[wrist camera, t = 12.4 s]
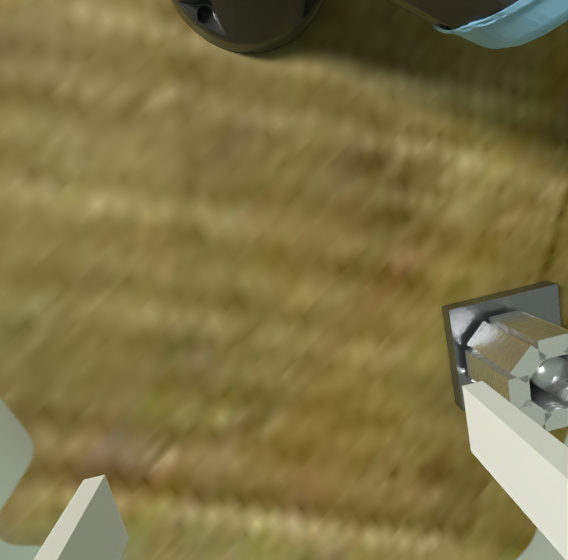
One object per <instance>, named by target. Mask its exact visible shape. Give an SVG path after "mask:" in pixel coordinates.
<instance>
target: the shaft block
mask: <svg viewBox="0 0 568 560" xmlns="http://www.w3.org/2000/svg"><path fill="white" fill-rule="evenodd" d="M442 309H443V316H444V323H445V330H446V337H447V344H448V351H449V358H450V365H451V372H452V379H453V386H454V393H455V400H456V404H457V405H458V406H459V407H460V408H461V409H462V410H463V411H465V403H464V396H463V389H462V386H464V385H468V384H472V383H474V382H473V381H471V380H472V378H470V377H469V376H468V370H467V362H466V354H465V350H468V349H472V348H471V347H470V346H468V345H467V343H468V342H469V340H470V339H471V338H472V336H473V335H474V333H475V332H476V331H477V329H478V328H479V327H480V325H481V324H482V322H483V321H485V322H487V323H489V324H490V320H489V317H492V316H496V315H500V314H504V313H508V312H513V311H519V312H525V313H528V314H530V315H533V316H535V317H538V318H540V319H543V320H545V321H548V322H550V323H553V324H555V325H558V326H560V327H561V320H560V307H559V294H558V284H556V283H552V282H549V281H546V282H542V283H537V284H533V285H529V286H525V287H521V288H517V289H513V290H508V291H504V292H500V293H496V294H492V295H488V296H484V297H479V298H475V299H471V300H467V301H463V302H459V303H455V304H450V305H446V306H442ZM529 381H530V382H532V383H533V384H535V385H537V386H538V387H540V388H541V389H543V390H544V391H547V392H557V391H560V390H562V389H564V388H565V387H566V386H567V385H568V361H567V360H565V359H563V358H561V357H559V356H557V357H553V358H549V359H545V360H544V361H543V362H542V363H541V365H540V366H539V367H538V369H537V370H536V371H535V372H534V374H533V375H532V376H531V378H530V379H529Z"/></svg>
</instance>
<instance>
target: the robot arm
mask: <svg viewBox="0 0 568 560" xmlns="http://www.w3.org/2000/svg"><path fill="white" fill-rule="evenodd" d="M389 1H391V2H393V3H395V4H397V5H399V6H401V7H403V8H405V9H406V10H408V11H410V12H412V13H414V14H416V15H418V16H420V17H421V18H423V19H425V20H427V21H429V22H431V24H432V27H433V28H435V29H436V30H438V31H439V32H442V33H445V34H456V35H458V36H460V37H462V38H465V39H467V40H469V41H471V42H473V43H475V44H478V45H480V46H482V47H485V48H490V49H500V48H504V47H506V48H509V47H516V46H520V45H523V44H525V43H528V42H530V41H533V40H535V39H537V38H539V37H541V36H543V35H545V34H547V33H548V32H550V31H552V30H554V29H555V28H557V27H558V26H560V25H562V24H563V23H565V22H566V21H568V0H389ZM172 2H173V4H174V6H175V8H176V9H177V11H178V12H179V14H180V15H181V17H182V18H183V19H184V20H185V22H186V23H187V24H188V25H189V26H190V27H191V28H192V29H193V30H194V31H195V32H197V33H198V34H199V35H200V36H202V37H203V38H204V39H206V40H207V41H209V42H211V43H213V44H215V45H217V46H219V47H221V48H224V49H227V50H230V51H235V52H241V53H259V52H265V51H269V50H273V49H275V48H278V47H280V46H283V45H284V44H286V43H288V42H290V41H291V40H293V39H294V38H295V37H297V36H298V35H299V34H300V33H301V32H302V31H303V30H304V29H305V28H306V27H307V26H308V25H309V24H310V22H311V21H312V20H313V18H314V17H315V15H316V14H317V12H318V10H319V8H320V6H321V4H322V2H323V0H172ZM462 389H463V396H464V403H465V410H466V417H467V424H468V431H469V439H470V446H471V452H472V453H473V454H474V455H475V456H476V457H477V459H478V460H479V461H480V462H481V463H482V464H483V465H484V467H485V468H486V469H487V470H488V471H489V472H490V474H491V475H492V476H493V477H494V478H495V479H496V480H497V482H498V483H499V484H500V485H501V486H502V487H503V488H504V490H505V491H506V492H507V493H508V494H509V495H510V497H511V498H512V499H513V500H514V501H515V502H516V503H517V505H518V506H519V507H520V508H521V509H522V510H523V511H524V513H525V514H526V515H527V516H528V517H529V518H530V520H531V521H532V522H533V523H534V524H535V525H536V526H537V528H538V529H539V530H540V531H541V532H542V533H543V534H544V536H545V537H546V538H547V539H548V540H549V541H550V542H551V544H552V545H553V546H554V547H555V548H556V549H557V551H558V552H559V553H560V554H561V555H562V556H563V557H564V558H565V560H568V447H566V446H565V445H564V444H563V443H561V442H560V441H559V440H558V439H556V438H555V437H554V436H552V435H551V434H550V433H549V432H547V431H546V430H545V429H544V428H542V427H541V426H540V425H538V424H537V423H536V422H535V421H533V420H532V419H531V418H529V417H528V416H527V415H526V414H524V413H523V412H522V411H520V410H519V409H518V408H517V407H515V406H514V405H513V404H511V403H510V402H509V401H508V400H506V399H505V398H504V397H502V396H501V395H500V394H499V393H497V392H496V391H495V390H494V389H492V388H491V387H490V386H488V385H487V384H486V383H485V382H483V381H480V382H476V383H472V384H468V385H464V386H462ZM128 539H129V537H128V535H127V532H126V529H125V527H124V524H123V521H122V519H121V516H120V513H119V511H118V508H117V505H116V503H115V500H114V497H113V495H112V492H111V489H110V487H109V484H108V481H107V479H106V476H105V475H101V476H97V477H93V478H89V479H85V480H83V482H82V483H81V485H80V486H79V488H78V490H77V491H76V493H75V494H74V496H73V498H72V499H71V501H70V502H69V504H68V506H67V507H66V509H65V510H64V512H63V514H62V515H61V517H60V518H59V520H58V522H57V523H56V525H55V526H54V528H53V530H52V531H51V533H50V534H49V536H48V537H47V539H46V541H45V542H44V544H43V545H42V547H41V549H40V550H39V552H38V553H37V555H36V557H35V558H34V560H121V557H122V555H123V552H124V550H125V547H126V544H127V542H128Z"/></svg>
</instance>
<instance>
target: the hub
mask: <svg viewBox="0 0 568 560" xmlns="http://www.w3.org/2000/svg"><path fill="white" fill-rule="evenodd" d="M489 320H490V324H489V323H487V322H485V321H483V322H482V324H481V325H480V327H479V328H478V329H477V331H476V332H475V333H474V335H473V336H472V338H471V339H470V340H469V342H468V343H467V345H468V346H470V347H471V348H472V349H468V350H465V354H466V362H467V370H468V376H469V377H470V378H472V380H471V381H473V382H474V383H476V382H480V381H483V382H485V383H486V384H487V385H488V386H490V387H491V388H492V389H494V390H495V391H496V392H497V393H499V394H500V395H501V396H502V397H504V398H505V399H506V400H508V401H509V402H510V403H511V404H513V405H514V406H515V407H517V408H518V409H519V410H520V411H522V412H523V413H524V414H526V415H527V416H528V417H529V418H531V419H532V420H533V421H535V422H536V423H537V424H538V425H540V426H541V427H542V428H544V429H545V430H546V431H551V430H555V429H559V428H563V427H567V426H568V385H567V386H566V387H565V388H564V389H562V390H560V391H557V392H547V391H544V390H543V389H541V388H540V387H538V386H537V385H535V384H533V383H532V382H530V381H529V379H530V378H531V376H532V375H533V374H534V372H535V371H536V370H537V369H538V367H539V366H540V365H541V363H542V362H543V361H544V360H545V359H549V358H553V357H557V356H559V357H561V358H563V359H565V360H567V361H568V329H565V328H563V327H560V326H558V325H555V324H553V323H550V322H548V321H545V320H543V319H540V318H538V317H535V316H533V315H530V314H528V313H525V312H519V311H513V312H508V313H504V314H500V315H496V316H492V317H489Z"/></svg>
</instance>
